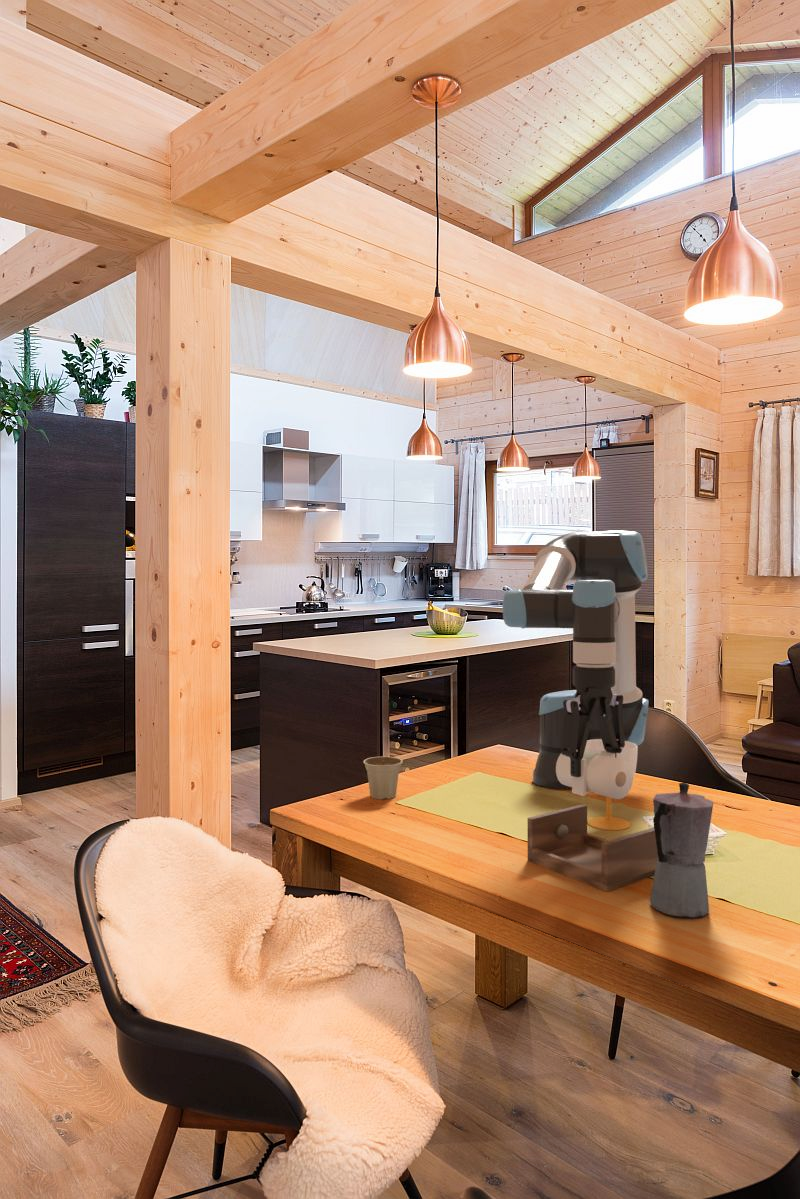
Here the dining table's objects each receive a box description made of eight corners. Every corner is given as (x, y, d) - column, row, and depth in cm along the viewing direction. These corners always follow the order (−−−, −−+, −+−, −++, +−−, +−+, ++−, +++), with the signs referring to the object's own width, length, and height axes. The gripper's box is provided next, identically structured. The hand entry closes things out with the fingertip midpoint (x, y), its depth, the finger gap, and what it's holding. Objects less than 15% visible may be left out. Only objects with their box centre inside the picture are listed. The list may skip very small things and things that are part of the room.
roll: (552, 784, 151) (558, 745, 152) (577, 786, 155) (583, 749, 156) (605, 798, 141) (611, 757, 142) (631, 800, 145) (636, 761, 146)
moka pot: (727, 902, 132) (728, 780, 132) (689, 934, 121) (689, 800, 120) (670, 888, 139) (671, 770, 138) (629, 916, 127) (629, 789, 127)
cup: (624, 836, 166) (624, 752, 165) (571, 825, 173) (571, 745, 172) (645, 822, 175) (646, 743, 175) (594, 812, 182) (594, 736, 182)
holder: (527, 860, 152) (527, 817, 152) (582, 844, 161) (582, 804, 161) (607, 891, 137) (607, 844, 137) (663, 872, 146) (663, 827, 146)
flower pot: (399, 802, 192) (399, 766, 191) (360, 801, 193) (359, 764, 193) (405, 792, 201) (405, 757, 201) (367, 790, 202) (367, 755, 202)
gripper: (613, 659, 157) (613, 778, 157) (539, 667, 145) (539, 795, 146) (646, 662, 151) (645, 786, 151) (571, 670, 139) (571, 804, 140)
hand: (593, 790), depth 149 cm, fingers closed on roll, 7 cm apart
